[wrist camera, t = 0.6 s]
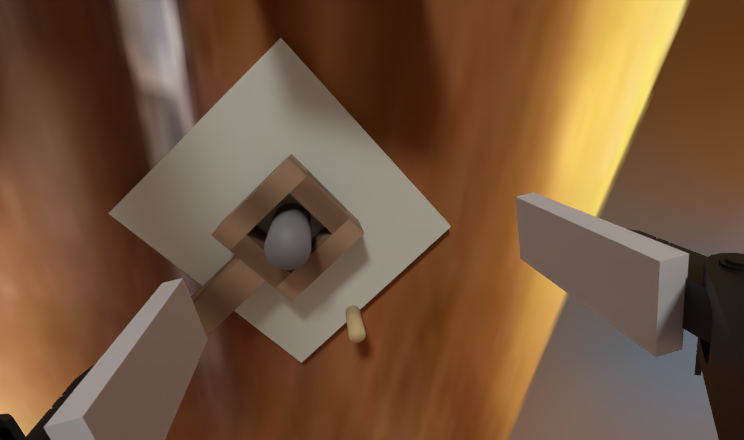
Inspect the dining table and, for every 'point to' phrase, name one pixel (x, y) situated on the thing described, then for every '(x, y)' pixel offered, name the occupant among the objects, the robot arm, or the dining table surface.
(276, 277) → the wooden frame with handle
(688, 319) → the robot arm
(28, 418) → the dining table surface
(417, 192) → the post board
